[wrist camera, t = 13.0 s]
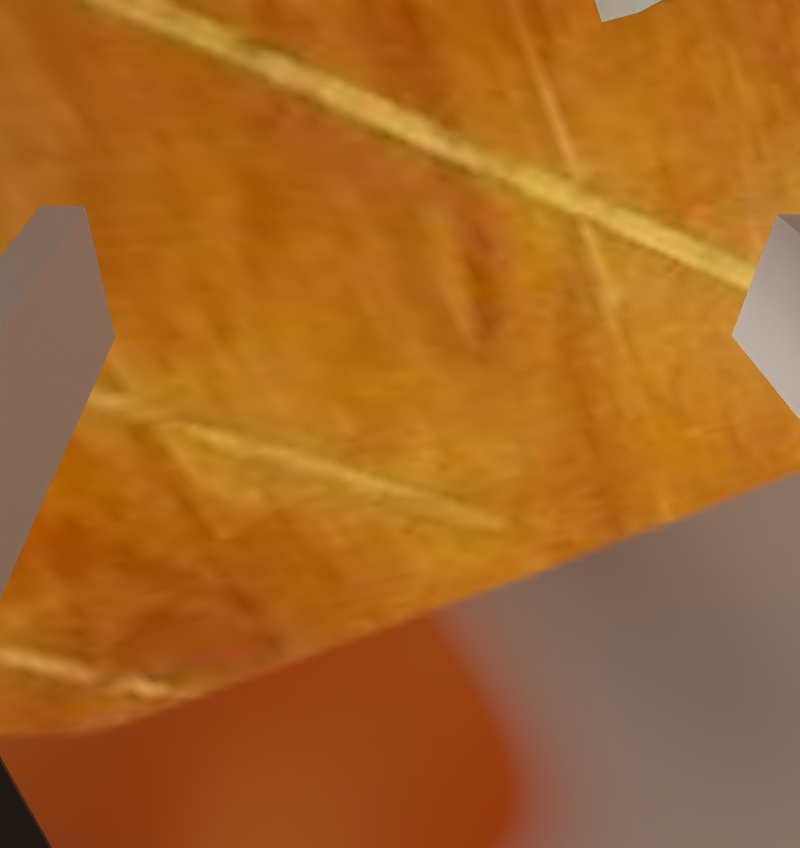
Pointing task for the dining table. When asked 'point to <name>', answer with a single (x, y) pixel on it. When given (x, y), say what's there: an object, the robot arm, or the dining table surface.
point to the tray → (621, 7)
